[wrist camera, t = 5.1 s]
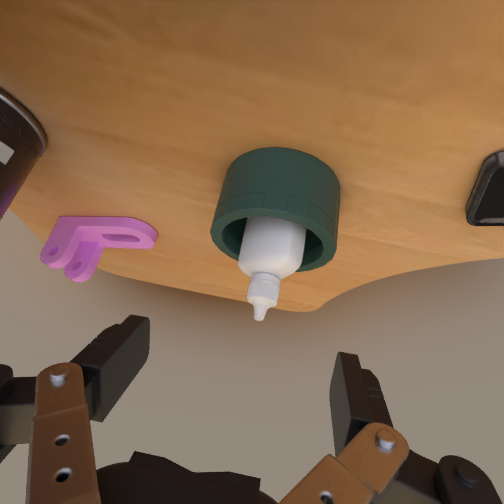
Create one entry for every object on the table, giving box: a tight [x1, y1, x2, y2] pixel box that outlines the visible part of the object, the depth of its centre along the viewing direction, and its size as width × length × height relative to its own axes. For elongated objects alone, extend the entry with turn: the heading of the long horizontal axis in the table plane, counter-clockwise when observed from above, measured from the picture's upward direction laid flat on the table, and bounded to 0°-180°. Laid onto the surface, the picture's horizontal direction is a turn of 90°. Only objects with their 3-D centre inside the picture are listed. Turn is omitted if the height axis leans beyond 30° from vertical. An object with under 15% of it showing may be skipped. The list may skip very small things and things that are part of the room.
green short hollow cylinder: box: [210, 148, 340, 272], centre depth 30 cm, size 11×11×6 cm
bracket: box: [40, 216, 157, 282], centre depth 44 cm, size 13×6×7 cm, turn 104°
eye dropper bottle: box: [238, 216, 307, 321], centre depth 29 cm, size 4×6×12 cm
